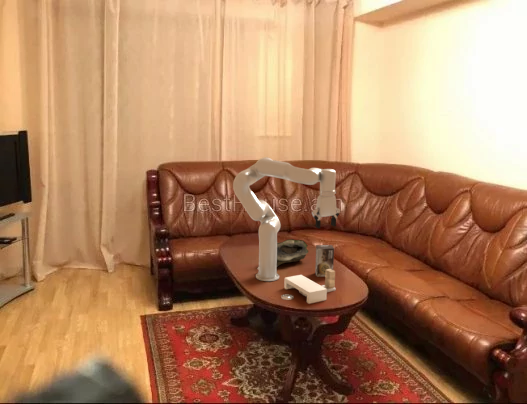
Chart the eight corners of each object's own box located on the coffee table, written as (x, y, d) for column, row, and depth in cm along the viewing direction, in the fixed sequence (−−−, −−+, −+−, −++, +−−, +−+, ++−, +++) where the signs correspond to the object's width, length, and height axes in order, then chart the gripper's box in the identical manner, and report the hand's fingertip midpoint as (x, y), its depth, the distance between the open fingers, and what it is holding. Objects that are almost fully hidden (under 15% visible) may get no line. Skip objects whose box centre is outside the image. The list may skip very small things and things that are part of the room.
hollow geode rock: (305, 266, 290) (296, 245, 297) (315, 256, 281) (306, 234, 288) (265, 272, 276) (257, 249, 283) (274, 262, 267) (265, 238, 274)
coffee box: (331, 272, 266) (332, 244, 263) (333, 276, 260) (334, 248, 257) (314, 272, 266) (316, 244, 263) (316, 276, 260) (317, 248, 257)
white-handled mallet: (299, 292, 237) (299, 273, 235) (328, 286, 246) (329, 268, 244) (306, 297, 232) (306, 277, 230) (335, 290, 241) (336, 271, 239)
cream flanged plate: (284, 288, 243) (284, 277, 241) (300, 284, 247) (301, 274, 246) (309, 303, 224) (309, 292, 223) (326, 299, 229) (326, 289, 228)
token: (278, 296, 232) (278, 295, 232) (289, 294, 235) (289, 293, 235) (285, 301, 227) (285, 299, 227) (295, 299, 230) (296, 297, 229)
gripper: (336, 191, 249) (334, 223, 252) (308, 193, 240) (307, 226, 244) (345, 193, 242) (343, 226, 246) (317, 196, 234) (316, 230, 237)
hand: (325, 226), depth 245 cm, fingers open, 9 cm apart
